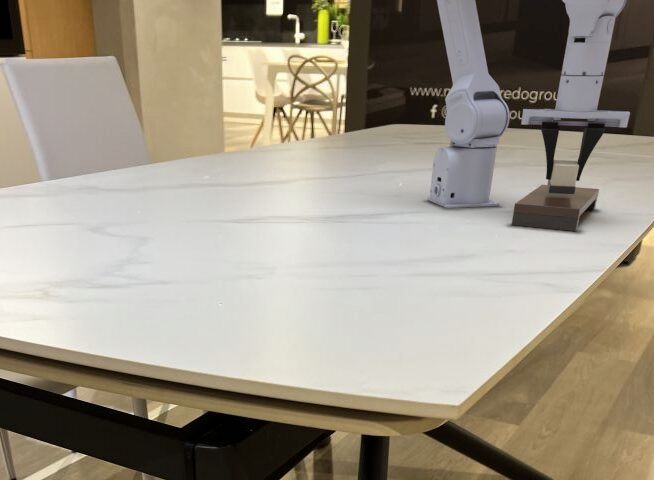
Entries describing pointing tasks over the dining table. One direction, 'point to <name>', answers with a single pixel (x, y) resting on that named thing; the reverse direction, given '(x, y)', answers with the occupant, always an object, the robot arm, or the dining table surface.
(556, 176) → the beige cube on base
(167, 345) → the dining table surface
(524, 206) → the low wooden riser
